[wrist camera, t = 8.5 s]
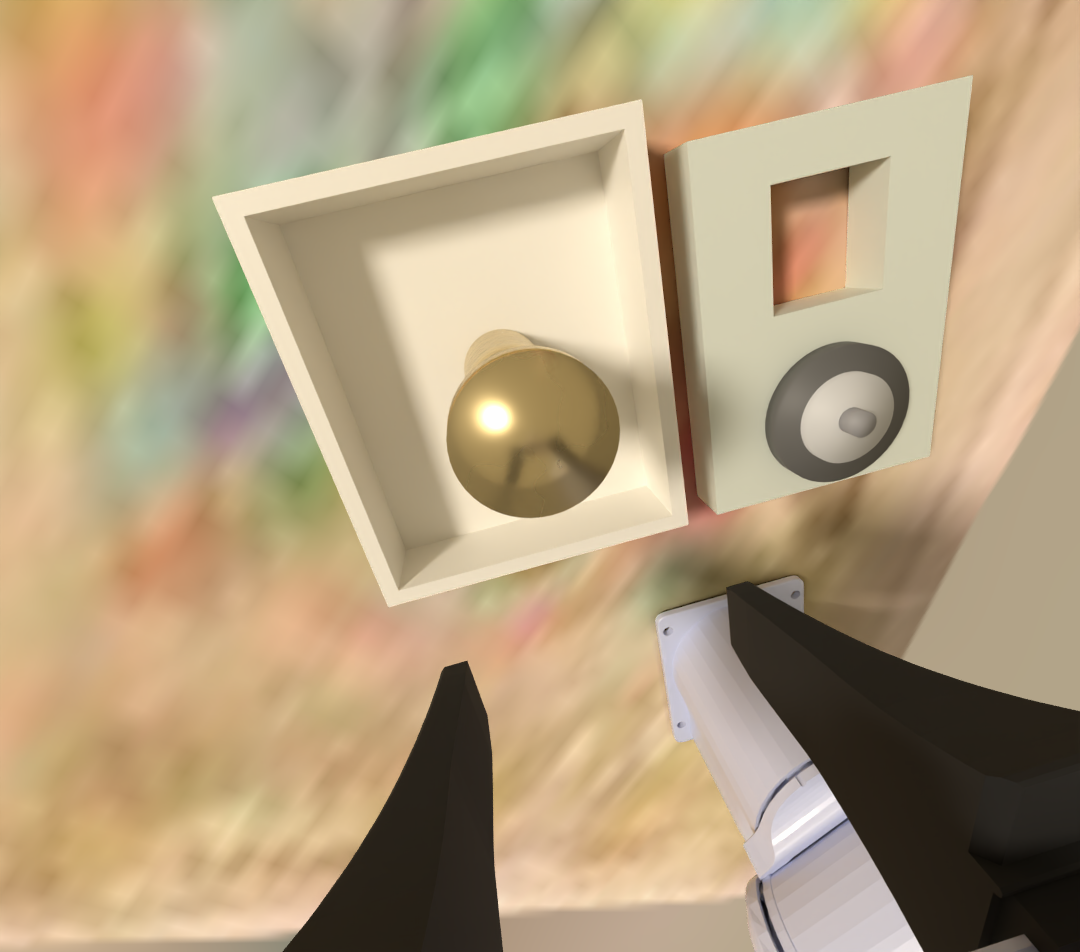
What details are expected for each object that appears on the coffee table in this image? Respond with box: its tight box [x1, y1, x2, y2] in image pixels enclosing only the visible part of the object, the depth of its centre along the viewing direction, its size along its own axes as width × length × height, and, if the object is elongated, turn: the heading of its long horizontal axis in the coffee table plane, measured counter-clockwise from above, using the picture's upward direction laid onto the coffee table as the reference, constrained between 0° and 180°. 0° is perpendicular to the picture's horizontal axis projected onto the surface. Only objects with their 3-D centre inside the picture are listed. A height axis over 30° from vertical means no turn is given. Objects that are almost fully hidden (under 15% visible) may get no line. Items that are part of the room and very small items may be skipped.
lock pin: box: [446, 329, 620, 518], centre depth 15 cm, size 4×4×9 cm
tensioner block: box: [664, 75, 973, 515], centre depth 19 cm, size 14×10×4 cm
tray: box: [212, 99, 689, 607], centre depth 18 cm, size 14×12×4 cm
